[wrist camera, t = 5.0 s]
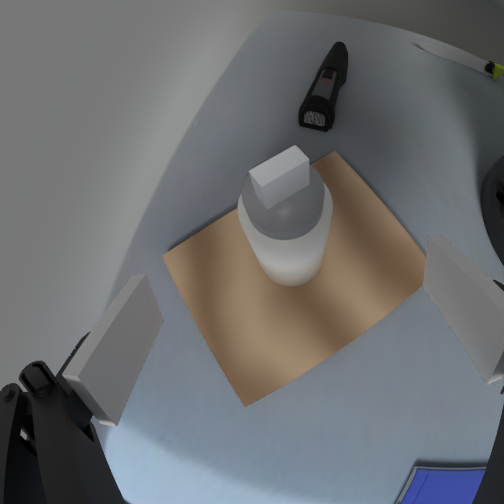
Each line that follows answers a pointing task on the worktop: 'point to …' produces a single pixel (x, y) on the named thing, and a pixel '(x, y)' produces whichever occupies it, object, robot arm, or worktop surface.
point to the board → (296, 288)
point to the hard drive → (441, 485)
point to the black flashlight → (325, 90)
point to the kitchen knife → (465, 59)
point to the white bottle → (286, 217)
